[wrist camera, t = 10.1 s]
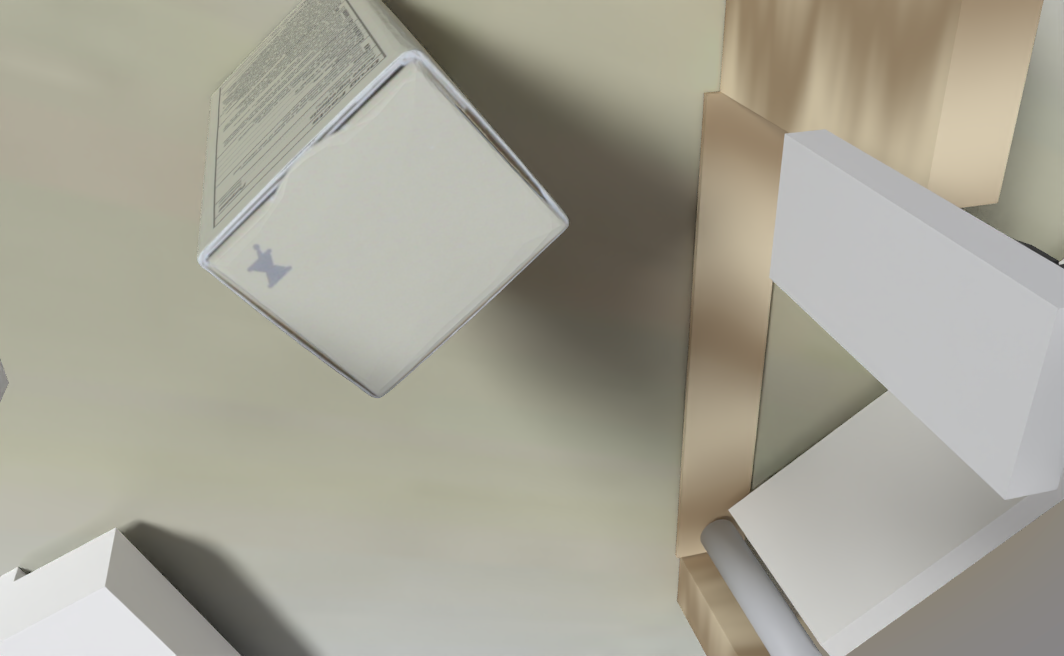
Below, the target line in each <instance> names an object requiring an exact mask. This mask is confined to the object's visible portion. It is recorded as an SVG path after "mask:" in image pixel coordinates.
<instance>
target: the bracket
mask: <svg viewBox="0 0 1064 656" xmlns="http://www.w3.org/2000/svg"><path fill="white" fill-rule="evenodd" d="M0 656H241V655H240V654H239V653H238V652H237V651H236V650H235V649H234V648H233V647H232V646H231V645H230V644H229V643H228V642H227V641H226V640H225V639H224V638H223V637H222V636H221V634H220V633H219V632H218V631H217V630H216V629H215V628H214V627H213V626H212V625H211V624H210V623H209V622H208V621H207V620H206V619H205V618H204V617H203V616H202V615H201V614H200V613H199V612H198V611H197V610H196V609H195V608H194V607H193V606H192V605H191V604H190V603H189V602H188V601H187V600H186V599H185V598H184V597H183V596H182V595H181V594H180V593H179V592H178V590H177V589H176V588H175V587H174V586H173V585H172V584H171V583H170V582H169V581H168V580H167V579H166V578H165V577H164V576H163V575H162V574H161V573H160V572H159V571H158V570H157V569H156V568H155V567H154V566H153V565H152V564H151V563H150V562H149V561H148V560H147V559H146V558H145V557H144V556H143V555H142V554H141V553H140V552H139V551H138V550H137V549H136V548H135V546H134V545H133V544H132V543H131V542H130V541H129V540H128V539H127V538H126V537H125V536H124V535H123V534H122V533H121V532H120V531H119V530H118V529H117V528H114V529H112V530H110V531H108V532H106V533H105V534H103V535H101V536H99V537H97V538H95V539H93V540H91V541H90V542H88V543H86V544H84V545H82V546H80V547H78V548H76V549H74V550H73V551H71V552H69V553H67V554H65V555H63V556H61V557H59V558H57V559H56V560H54V561H52V562H50V563H48V564H46V565H44V566H42V567H40V568H39V569H37V570H35V571H33V572H31V573H29V574H27V575H26V574H25V573H24V572H23V571H22V570H21V569H20V568H19V567H17V568H15V569H13V570H11V571H10V572H8V573H6V574H4V575H2V576H0Z"/></svg>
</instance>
